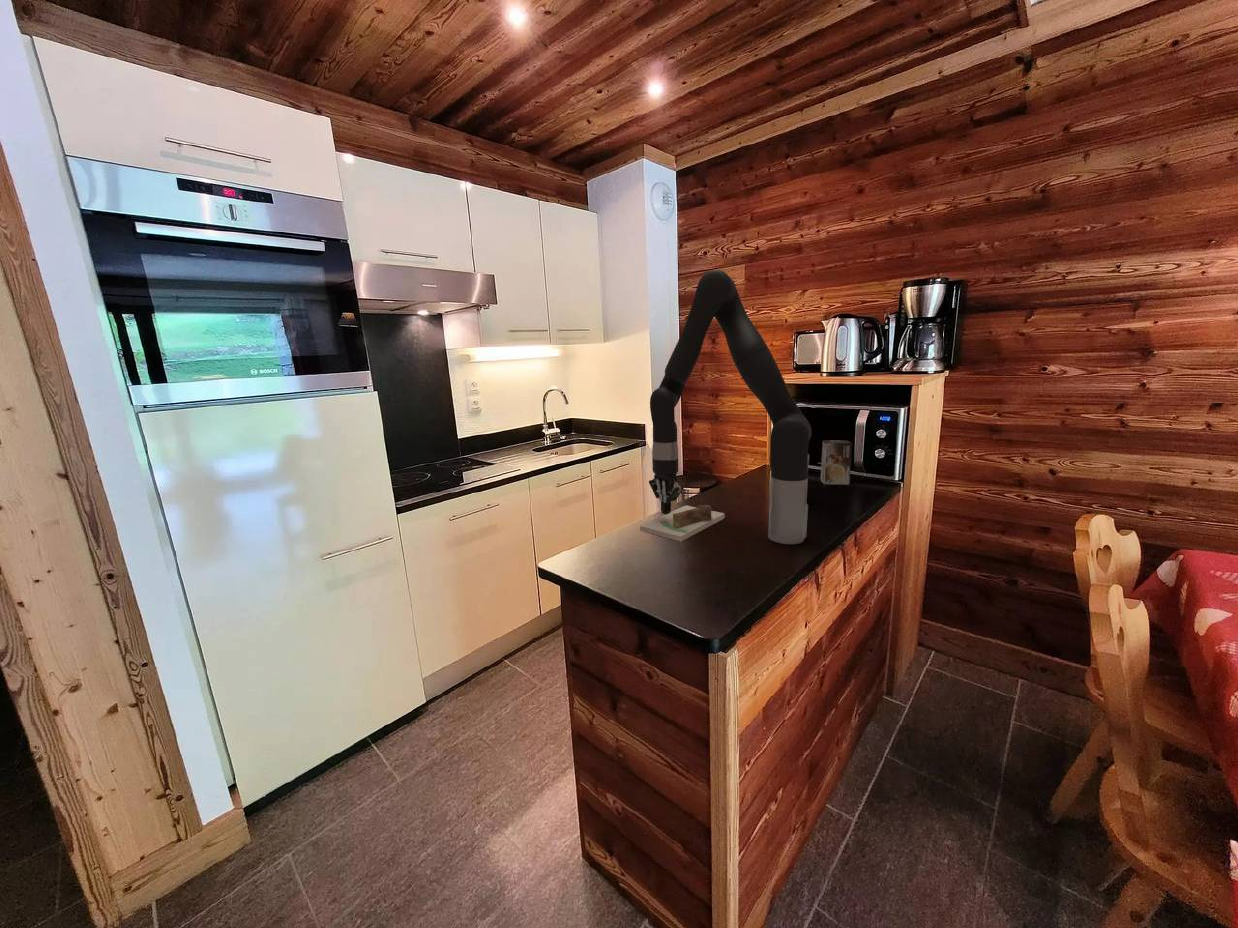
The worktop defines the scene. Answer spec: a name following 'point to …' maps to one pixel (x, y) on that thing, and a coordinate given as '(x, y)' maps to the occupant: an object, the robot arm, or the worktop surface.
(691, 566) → the worktop surface
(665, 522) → the dial board
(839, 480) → the coffee box
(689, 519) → the brown wooden block
